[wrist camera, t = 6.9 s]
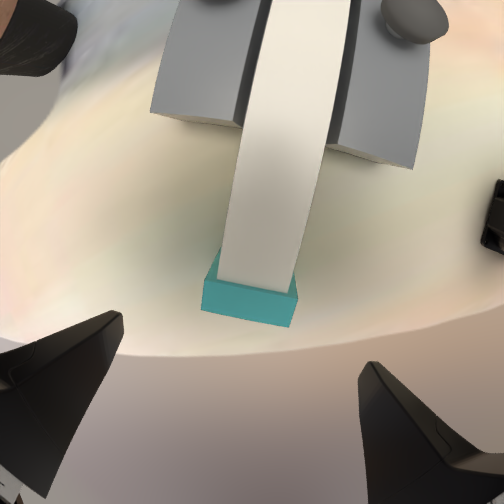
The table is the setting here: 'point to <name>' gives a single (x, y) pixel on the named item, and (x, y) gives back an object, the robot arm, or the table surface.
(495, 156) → the table surface
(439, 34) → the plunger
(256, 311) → the bar
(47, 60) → the travel mug
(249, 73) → the housing
